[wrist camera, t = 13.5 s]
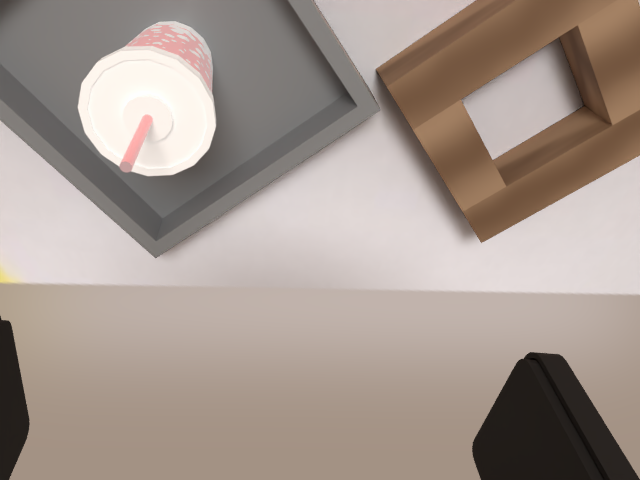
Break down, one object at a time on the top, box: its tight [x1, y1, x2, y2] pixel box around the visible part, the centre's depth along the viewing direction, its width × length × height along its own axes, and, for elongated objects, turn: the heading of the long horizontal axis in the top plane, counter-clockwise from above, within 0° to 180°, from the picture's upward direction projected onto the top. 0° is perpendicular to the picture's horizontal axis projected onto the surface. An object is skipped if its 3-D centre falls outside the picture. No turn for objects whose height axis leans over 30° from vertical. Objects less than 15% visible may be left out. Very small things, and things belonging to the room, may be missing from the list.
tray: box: [0, 0, 380, 258], centre depth 30 cm, size 18×18×4 cm
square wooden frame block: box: [376, 0, 640, 243], centre depth 34 cm, size 14×14×4 cm
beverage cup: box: [78, 21, 216, 176], centre depth 26 cm, size 6×6×14 cm
